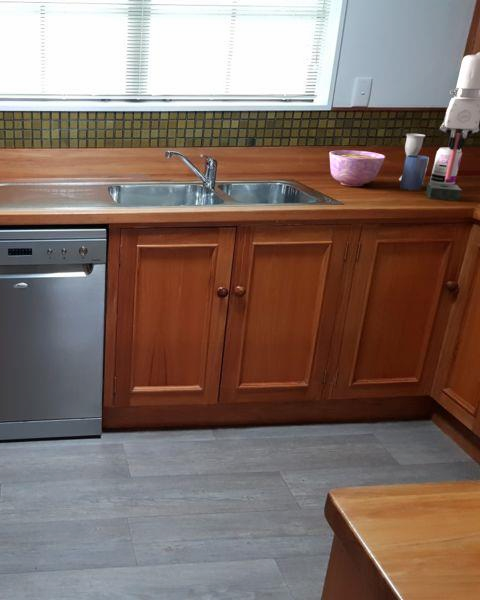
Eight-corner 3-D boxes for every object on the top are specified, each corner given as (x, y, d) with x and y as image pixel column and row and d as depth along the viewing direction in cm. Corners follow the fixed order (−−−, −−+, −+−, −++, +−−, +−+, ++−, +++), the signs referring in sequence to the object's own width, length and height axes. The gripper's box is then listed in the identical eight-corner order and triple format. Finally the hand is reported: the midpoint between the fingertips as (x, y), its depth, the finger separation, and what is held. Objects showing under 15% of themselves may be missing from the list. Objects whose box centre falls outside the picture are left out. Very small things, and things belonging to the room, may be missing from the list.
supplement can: (450, 187, 236) (460, 147, 230) (454, 191, 229) (465, 151, 223) (427, 185, 238) (436, 146, 232) (430, 189, 231) (440, 149, 225)
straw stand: (454, 195, 222) (457, 184, 220) (458, 201, 214) (461, 190, 212) (425, 193, 225) (428, 182, 223) (429, 198, 217) (431, 187, 215)
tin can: (420, 187, 235) (427, 156, 230) (422, 191, 228) (430, 159, 224) (398, 185, 237) (405, 154, 233) (400, 189, 231) (407, 157, 226)
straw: (449, 178, 217) (460, 133, 211) (450, 179, 216) (461, 133, 210) (444, 178, 218) (455, 132, 212) (445, 179, 217) (456, 133, 210)
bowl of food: (389, 186, 236) (396, 156, 232) (359, 192, 226) (365, 160, 221) (344, 177, 251) (349, 148, 247) (313, 182, 241) (318, 152, 236)
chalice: (398, 177, 252) (407, 133, 245) (416, 179, 248) (426, 134, 241) (394, 180, 246) (404, 135, 239) (413, 182, 243) (423, 136, 236)
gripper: (443, 94, 205) (430, 149, 212) (496, 95, 200) (482, 152, 207) (439, 92, 211) (427, 146, 219) (491, 93, 206) (477, 148, 214)
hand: (454, 148), depth 213 cm, fingers closed on straw, 1 cm apart
